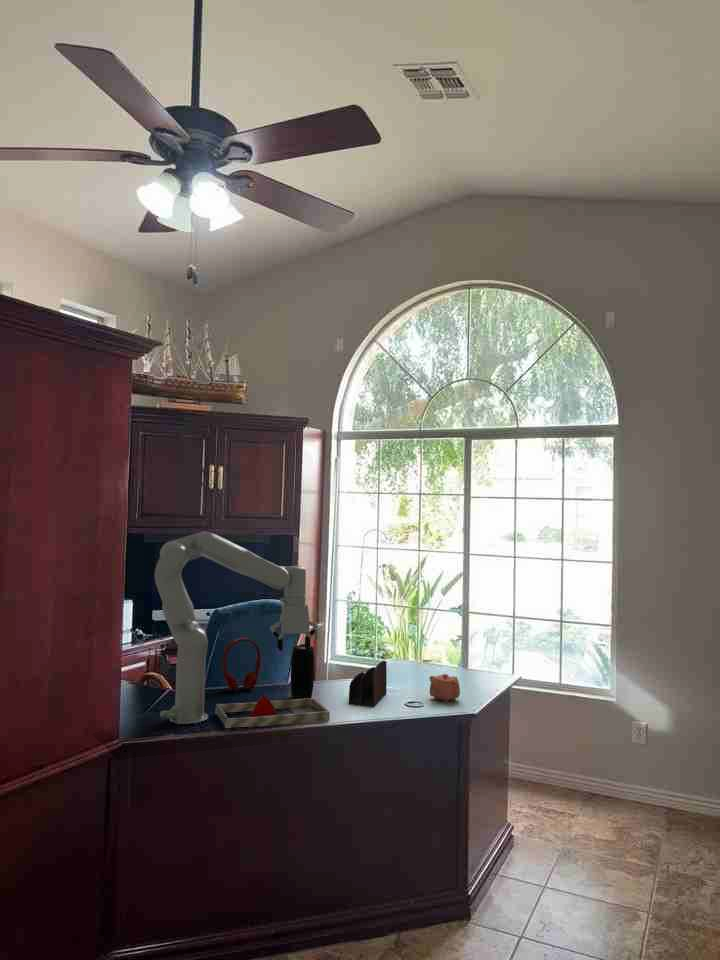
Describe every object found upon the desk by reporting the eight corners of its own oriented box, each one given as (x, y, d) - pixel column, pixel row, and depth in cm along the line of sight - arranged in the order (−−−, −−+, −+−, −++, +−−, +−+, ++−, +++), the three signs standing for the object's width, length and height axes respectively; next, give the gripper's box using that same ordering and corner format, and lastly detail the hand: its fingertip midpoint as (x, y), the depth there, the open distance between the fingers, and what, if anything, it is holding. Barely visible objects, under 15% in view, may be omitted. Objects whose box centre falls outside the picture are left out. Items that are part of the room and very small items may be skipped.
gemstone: (254, 722, 245) (278, 705, 250) (238, 705, 250) (262, 689, 255) (255, 738, 250) (278, 721, 256) (239, 721, 255) (263, 705, 261)
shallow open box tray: (225, 729, 241) (226, 718, 241) (215, 713, 257) (215, 703, 257) (329, 720, 254) (329, 709, 254) (313, 706, 270) (313, 696, 270)
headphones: (224, 694, 283) (226, 641, 283) (219, 689, 289) (221, 638, 289) (261, 690, 289) (263, 639, 290) (255, 686, 296) (257, 635, 296)
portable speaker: (287, 700, 277) (288, 647, 278) (294, 693, 286) (296, 642, 287) (309, 702, 275) (310, 649, 276) (316, 695, 284) (317, 644, 285)
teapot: (429, 703, 279) (430, 677, 279) (428, 695, 291) (429, 670, 291) (461, 705, 278) (461, 679, 278) (458, 696, 290) (459, 671, 290)
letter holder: (386, 694, 291) (387, 658, 291) (374, 707, 271) (375, 669, 272) (362, 691, 293) (363, 655, 293) (348, 705, 274) (349, 666, 274)
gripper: (273, 603, 257) (272, 652, 257) (321, 601, 263) (320, 650, 263) (268, 600, 264) (267, 648, 264) (315, 598, 270) (314, 646, 270)
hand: (293, 649), depth 263 cm, fingers open, 9 cm apart
